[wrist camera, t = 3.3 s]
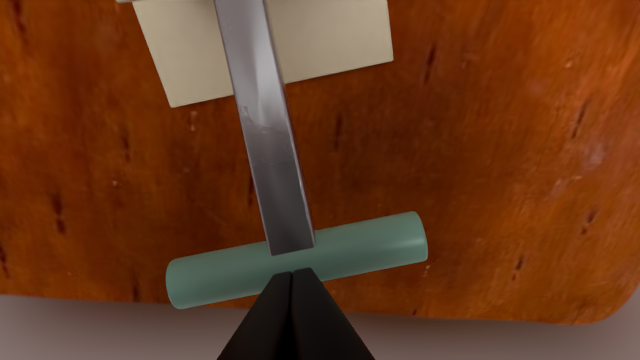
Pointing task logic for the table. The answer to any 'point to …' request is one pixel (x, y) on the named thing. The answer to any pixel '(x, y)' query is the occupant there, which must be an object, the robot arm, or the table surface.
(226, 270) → the lever
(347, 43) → the toaster bracket
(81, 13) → the table surface
